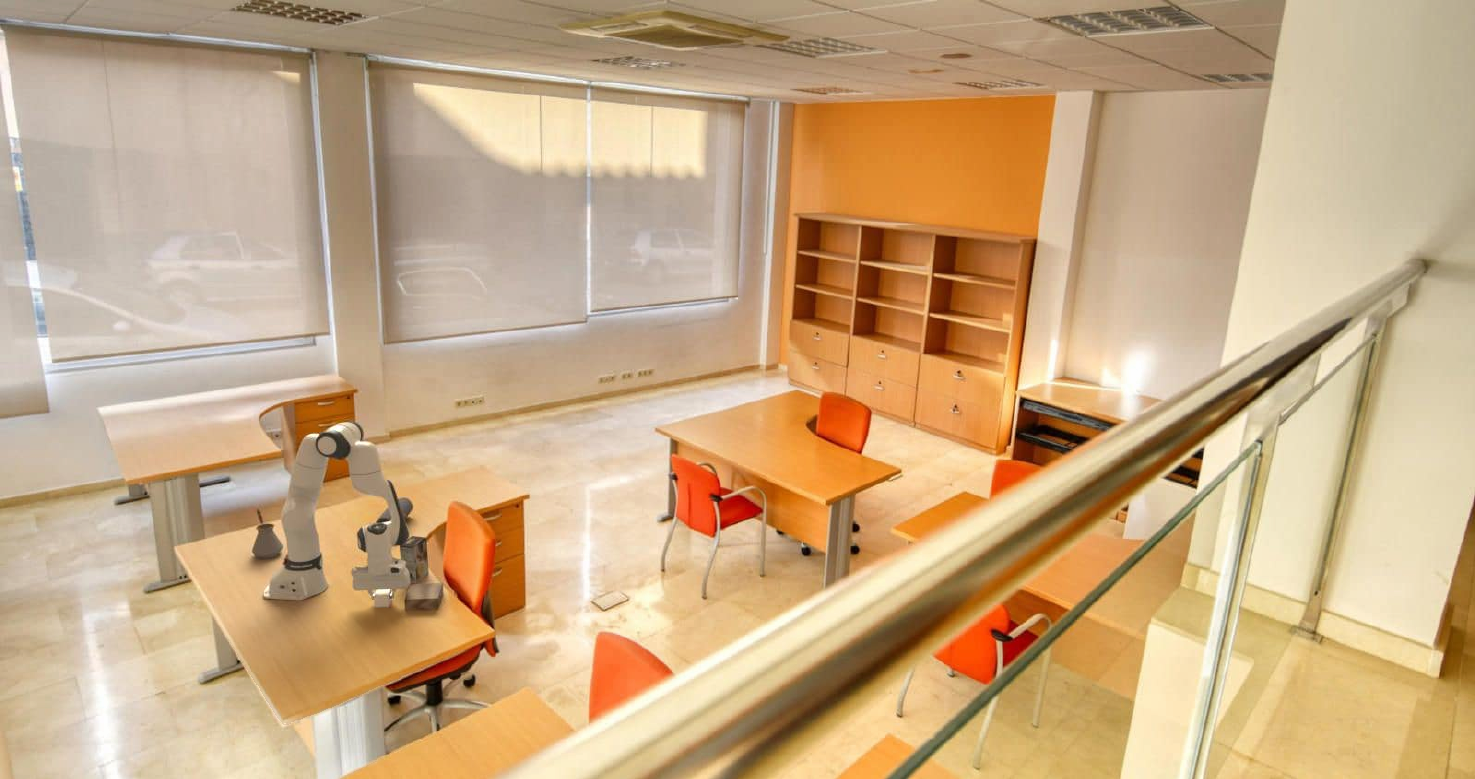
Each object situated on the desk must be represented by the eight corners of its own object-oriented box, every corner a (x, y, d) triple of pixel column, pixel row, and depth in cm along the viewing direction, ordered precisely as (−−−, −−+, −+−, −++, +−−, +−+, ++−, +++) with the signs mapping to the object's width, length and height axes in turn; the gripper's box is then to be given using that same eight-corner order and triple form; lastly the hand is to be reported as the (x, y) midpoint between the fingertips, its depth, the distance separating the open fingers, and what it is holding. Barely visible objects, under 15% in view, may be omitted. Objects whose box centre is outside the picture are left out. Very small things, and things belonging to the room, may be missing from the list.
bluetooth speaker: (396, 537, 384) (394, 517, 382) (375, 537, 384) (373, 516, 382) (415, 516, 406) (413, 496, 403) (395, 515, 406) (393, 495, 404)
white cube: (374, 607, 329) (373, 595, 327) (378, 600, 334) (377, 589, 332) (388, 606, 330) (387, 595, 328) (391, 600, 334) (390, 588, 333)
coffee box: (414, 571, 357) (412, 535, 352) (429, 573, 355) (426, 537, 351) (402, 581, 348) (399, 545, 344) (416, 583, 347) (414, 547, 342)
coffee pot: (286, 556, 364) (282, 523, 360) (255, 563, 357) (251, 530, 353) (276, 537, 380) (272, 505, 376) (246, 543, 374) (242, 511, 370)
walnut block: (405, 611, 327) (404, 599, 326) (411, 595, 339) (410, 584, 337) (438, 610, 329) (437, 598, 328) (443, 594, 341) (442, 582, 339)
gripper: (348, 570, 322) (351, 604, 326) (406, 568, 326) (409, 601, 330) (353, 562, 328) (356, 595, 332) (410, 560, 332) (412, 593, 336)
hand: (383, 598), depth 331 cm, fingers closed on white cube, 5 cm apart
